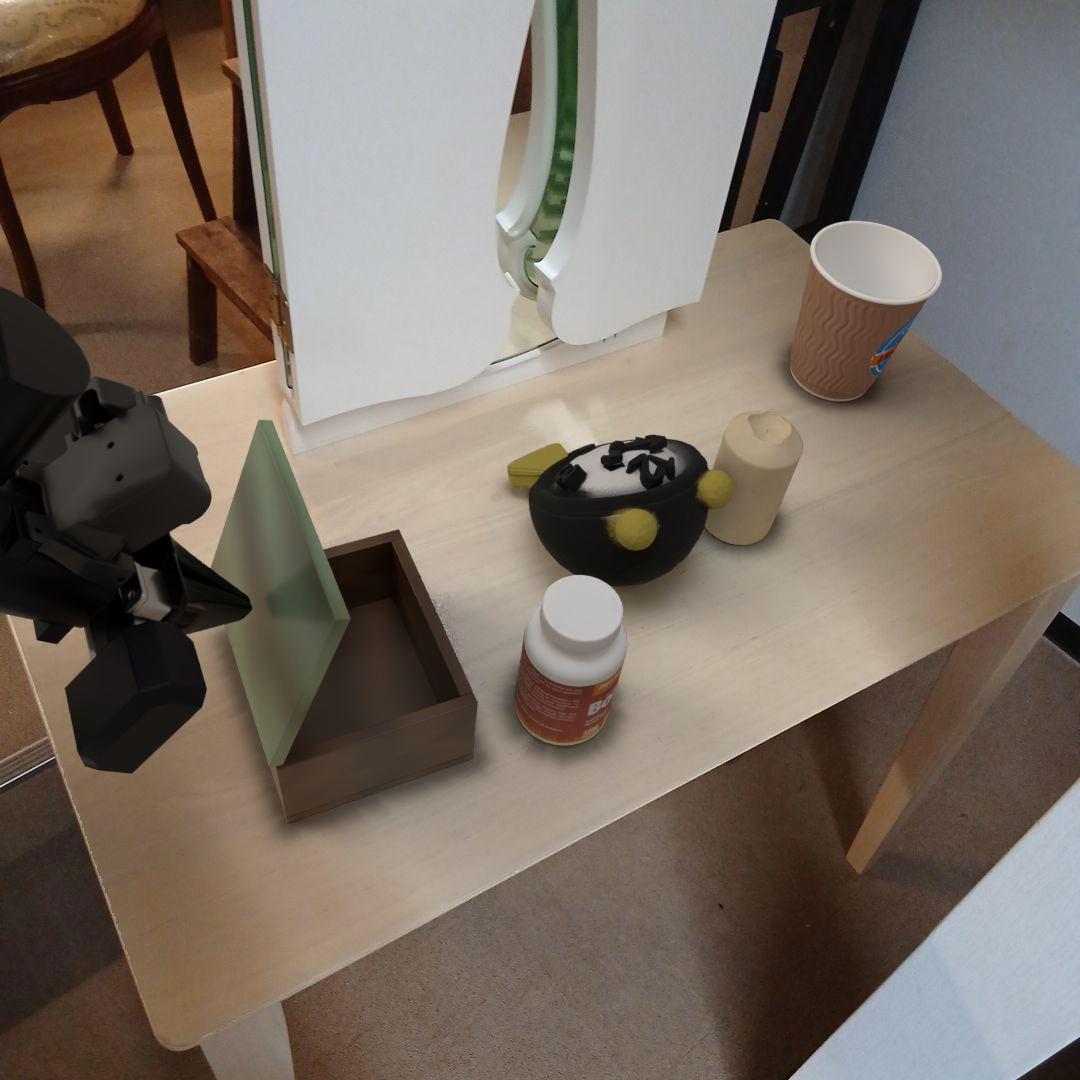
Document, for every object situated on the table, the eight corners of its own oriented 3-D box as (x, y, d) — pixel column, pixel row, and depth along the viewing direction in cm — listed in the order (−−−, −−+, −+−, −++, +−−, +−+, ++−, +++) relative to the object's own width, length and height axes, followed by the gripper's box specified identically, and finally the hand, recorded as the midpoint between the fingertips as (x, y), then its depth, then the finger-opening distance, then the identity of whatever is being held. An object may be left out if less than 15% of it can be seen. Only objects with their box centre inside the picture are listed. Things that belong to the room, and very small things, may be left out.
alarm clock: (634, 506, 85) (757, 401, 74) (614, 661, 76) (750, 567, 66) (508, 440, 82) (618, 319, 71) (471, 595, 73) (591, 484, 62)
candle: (689, 530, 79) (720, 436, 72) (710, 481, 83) (741, 386, 75) (760, 556, 78) (799, 463, 71) (778, 505, 82) (817, 412, 74)
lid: (272, 419, 57) (257, 418, 56) (351, 618, 49) (335, 619, 49) (221, 573, 64) (207, 573, 64) (283, 765, 57) (268, 767, 56)
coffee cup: (874, 432, 88) (930, 318, 79) (756, 390, 90) (796, 273, 81) (898, 359, 94) (952, 245, 85) (787, 321, 96) (828, 205, 87)
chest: (399, 591, 73) (399, 528, 68) (472, 759, 66) (478, 703, 61) (230, 640, 70) (215, 577, 64) (287, 823, 62) (276, 770, 57)
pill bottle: (593, 762, 67) (621, 667, 58) (500, 731, 67) (514, 633, 59) (619, 682, 70) (648, 582, 62) (530, 653, 71) (547, 551, 63)
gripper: (103, 583, 37) (407, 659, 49) (26, 262, 47) (294, 391, 59) (-67, 763, 40) (255, 792, 53) (-105, 428, 51) (173, 518, 63)
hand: (246, 608), depth 57 cm, fingers closed
